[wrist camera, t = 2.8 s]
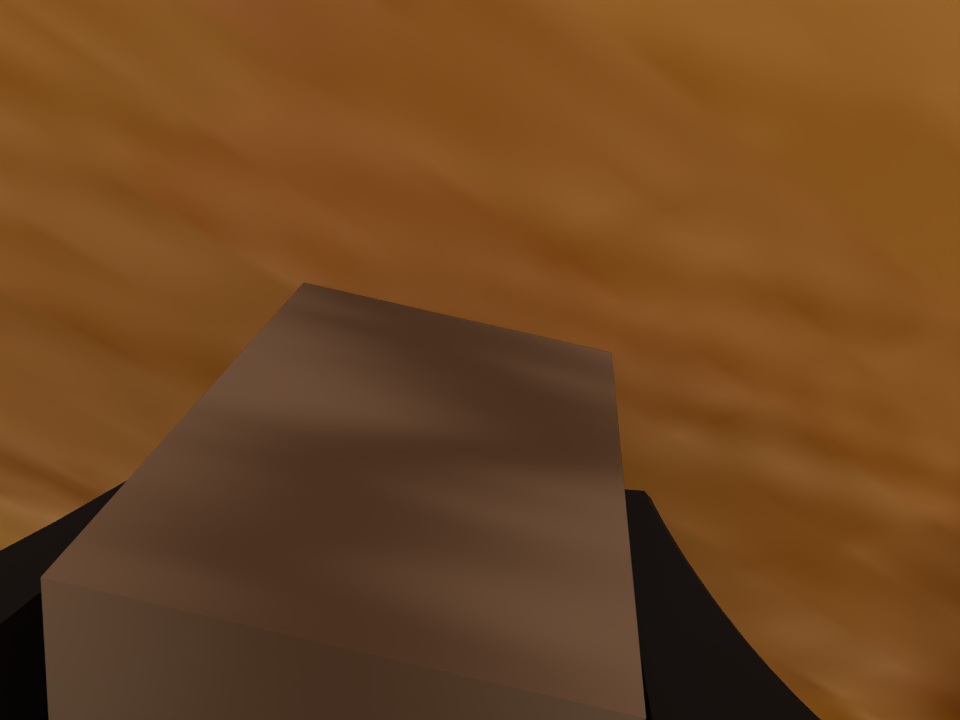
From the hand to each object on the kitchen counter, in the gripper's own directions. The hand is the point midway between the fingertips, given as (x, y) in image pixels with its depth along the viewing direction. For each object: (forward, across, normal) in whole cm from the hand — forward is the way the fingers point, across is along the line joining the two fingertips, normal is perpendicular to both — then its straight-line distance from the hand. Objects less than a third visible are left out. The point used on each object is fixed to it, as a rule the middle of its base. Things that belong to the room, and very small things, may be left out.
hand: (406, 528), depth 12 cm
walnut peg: (+2, 0, 0) cm, 2 cm away
